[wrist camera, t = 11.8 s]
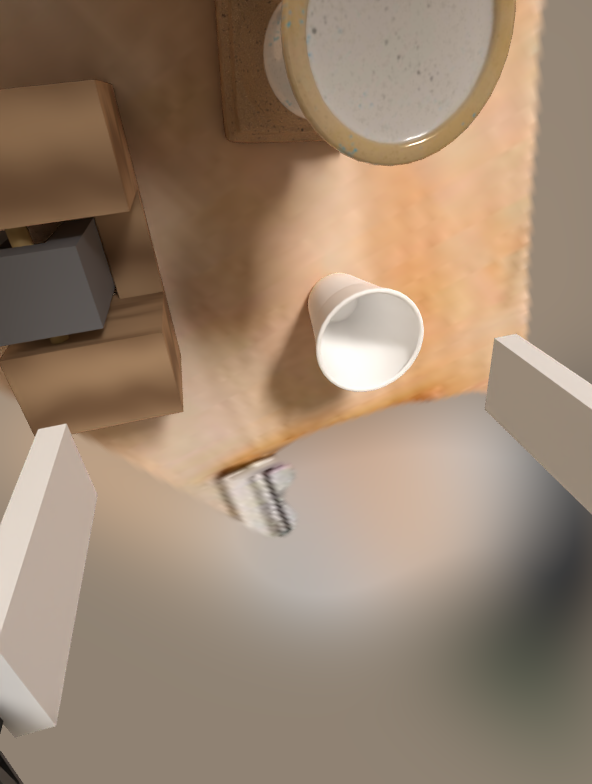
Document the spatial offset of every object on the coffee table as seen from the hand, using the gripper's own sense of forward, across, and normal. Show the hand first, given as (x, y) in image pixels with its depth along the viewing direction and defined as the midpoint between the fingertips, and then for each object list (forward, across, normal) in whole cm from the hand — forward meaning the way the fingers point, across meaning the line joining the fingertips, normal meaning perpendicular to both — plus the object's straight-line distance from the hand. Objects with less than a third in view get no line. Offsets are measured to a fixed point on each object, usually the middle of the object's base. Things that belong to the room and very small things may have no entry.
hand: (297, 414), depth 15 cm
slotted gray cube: (+32, -14, -2) cm, 35 cm away
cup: (+35, +11, -11) cm, 38 cm away
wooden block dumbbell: (+35, -12, -2) cm, 37 cm away
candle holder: (+35, +8, +10) cm, 37 cm away
